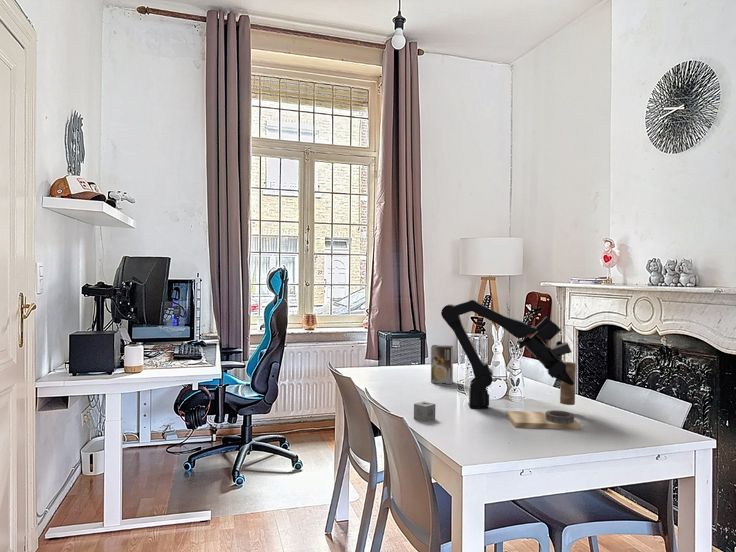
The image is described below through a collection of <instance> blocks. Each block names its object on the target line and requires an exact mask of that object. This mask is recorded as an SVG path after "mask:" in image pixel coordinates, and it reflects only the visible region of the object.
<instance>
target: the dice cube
mask: <svg viewBox="0 0 736 552" xmlns="http://www.w3.org/2000/svg"><path fill="white" fill-rule="evenodd" d="M413 419H415V420H418V421H420V420H421V422H424V423H426V421H427V422H430V421H434V420H436V403H433V402H429V401H428V402H427V401H419V402H415V403H413Z"/></svg>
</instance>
